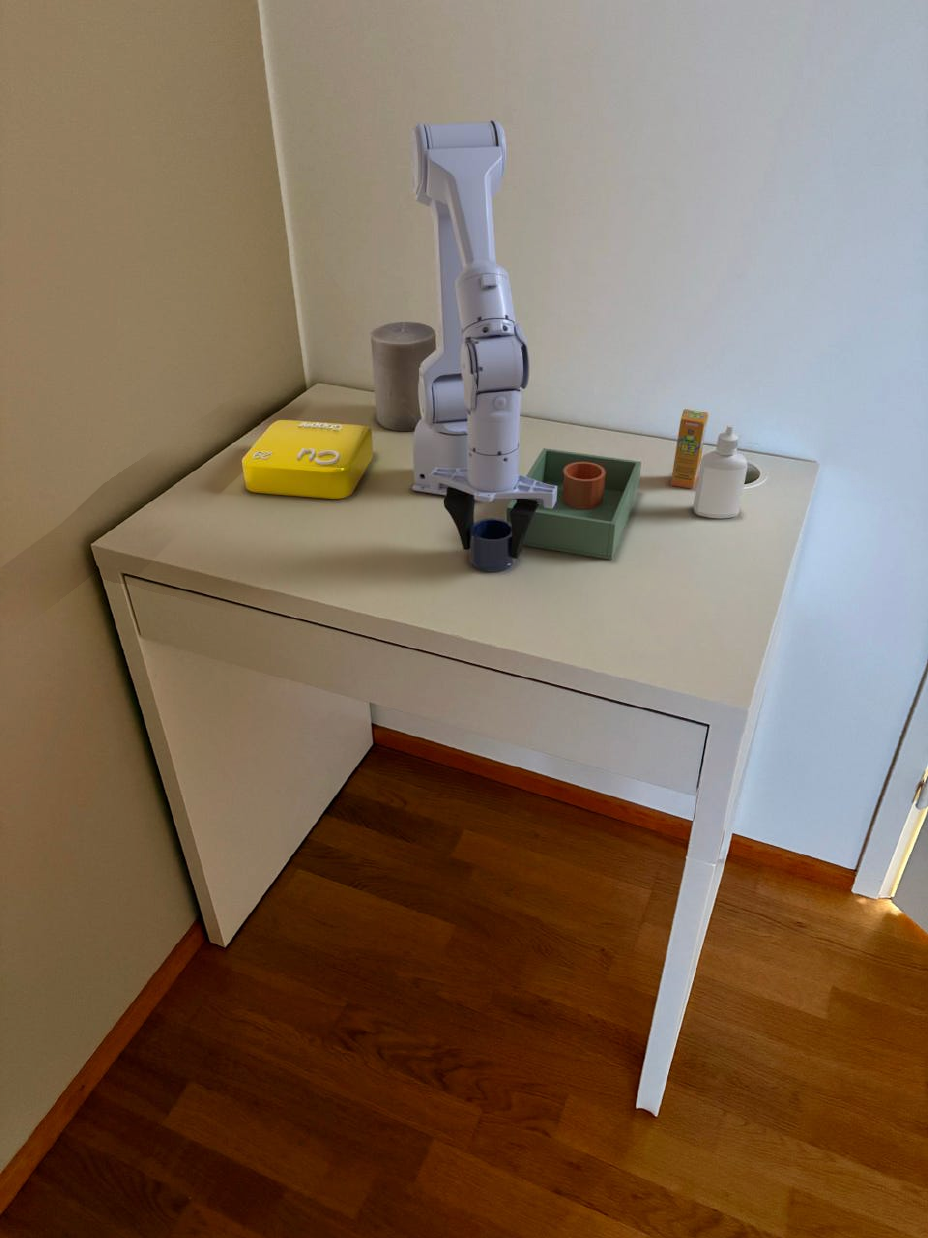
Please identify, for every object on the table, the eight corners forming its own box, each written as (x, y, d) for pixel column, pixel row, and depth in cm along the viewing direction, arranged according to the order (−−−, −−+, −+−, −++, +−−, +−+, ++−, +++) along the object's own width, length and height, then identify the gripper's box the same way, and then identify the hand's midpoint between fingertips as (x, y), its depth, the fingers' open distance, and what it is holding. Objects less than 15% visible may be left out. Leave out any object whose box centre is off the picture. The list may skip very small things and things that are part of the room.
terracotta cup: (557, 506, 119) (558, 477, 117) (567, 487, 123) (568, 459, 121) (597, 512, 118) (600, 483, 115) (606, 493, 122) (609, 465, 119)
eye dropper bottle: (729, 525, 116) (746, 437, 109) (688, 513, 118) (701, 426, 111) (742, 511, 119) (759, 425, 111) (701, 499, 121) (715, 414, 114)
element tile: (376, 452, 133) (374, 421, 131) (348, 501, 121) (345, 468, 119) (278, 445, 136) (274, 414, 133) (241, 492, 124) (235, 460, 121)
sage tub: (505, 542, 113) (506, 507, 110) (542, 480, 126) (543, 447, 123) (611, 560, 109) (615, 524, 106) (637, 494, 122) (641, 461, 120)
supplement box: (669, 486, 124) (678, 417, 118) (674, 475, 127) (684, 407, 121) (693, 490, 123) (704, 421, 117) (698, 479, 126) (709, 410, 120)
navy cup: (463, 567, 108) (463, 537, 106) (477, 545, 112) (477, 515, 110) (507, 575, 107) (508, 544, 104) (520, 552, 111) (521, 522, 108)
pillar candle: (448, 412, 145) (446, 317, 136) (420, 436, 138) (417, 337, 129) (393, 402, 148) (388, 309, 139) (364, 425, 141) (357, 328, 132)
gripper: (418, 450, 100) (422, 556, 108) (547, 469, 96) (542, 577, 104) (441, 424, 105) (443, 527, 113) (564, 441, 101) (557, 546, 109)
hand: (491, 549), depth 109 cm, fingers closed on navy cup, 5 cm apart
